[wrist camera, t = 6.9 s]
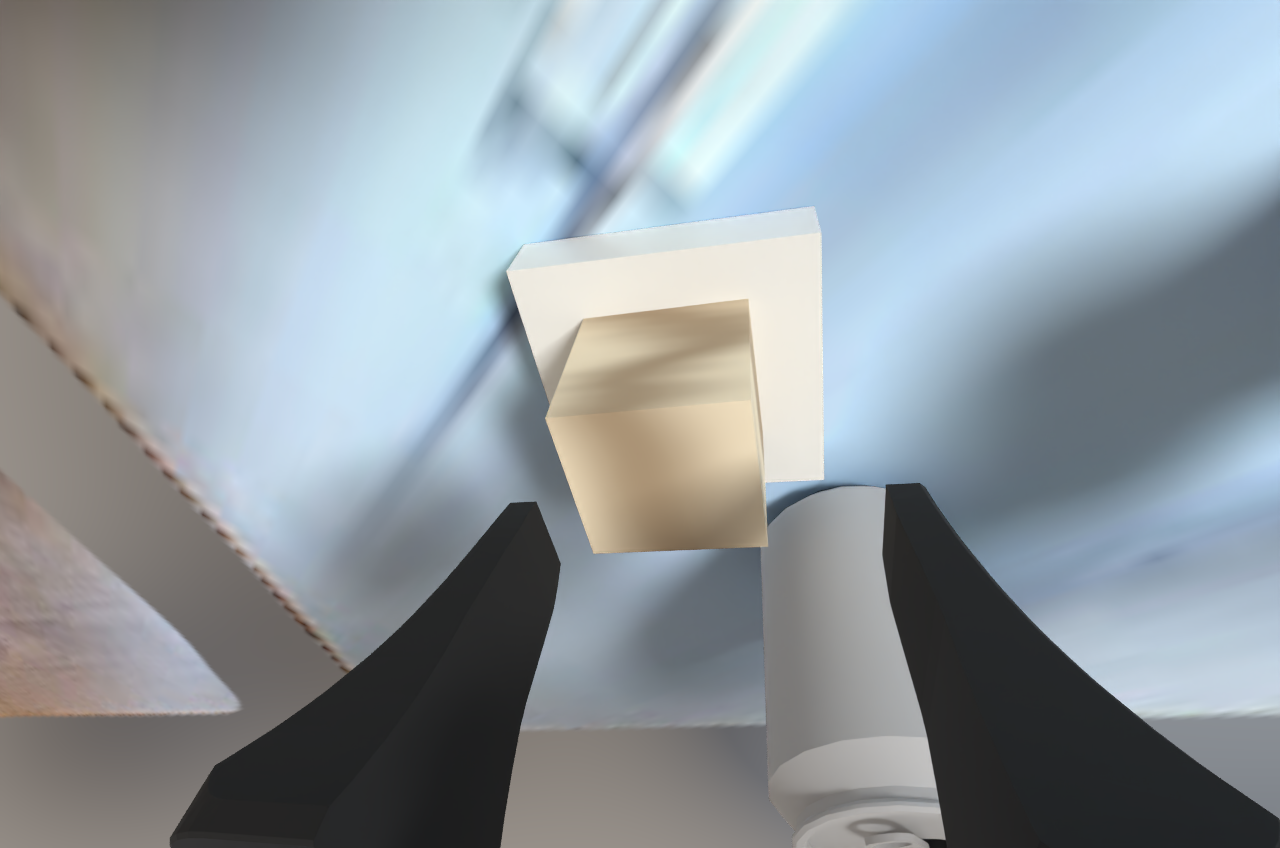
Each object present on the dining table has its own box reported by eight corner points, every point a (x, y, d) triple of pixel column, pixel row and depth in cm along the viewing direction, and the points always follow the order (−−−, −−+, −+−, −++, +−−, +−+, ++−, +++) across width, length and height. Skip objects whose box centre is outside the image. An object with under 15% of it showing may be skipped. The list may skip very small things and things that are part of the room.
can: (808, 610, 30) (839, 920, 21) (726, 510, 27) (719, 827, 18) (973, 562, 27) (1096, 904, 18) (903, 442, 24) (1010, 787, 14)
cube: (748, 298, 19) (751, 399, 15) (762, 432, 22) (768, 546, 18) (583, 318, 20) (545, 418, 16) (618, 443, 23) (593, 553, 19)
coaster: (814, 206, 19) (820, 232, 17) (818, 443, 24) (824, 479, 23) (523, 244, 21) (506, 271, 19) (587, 456, 26) (577, 491, 24)
